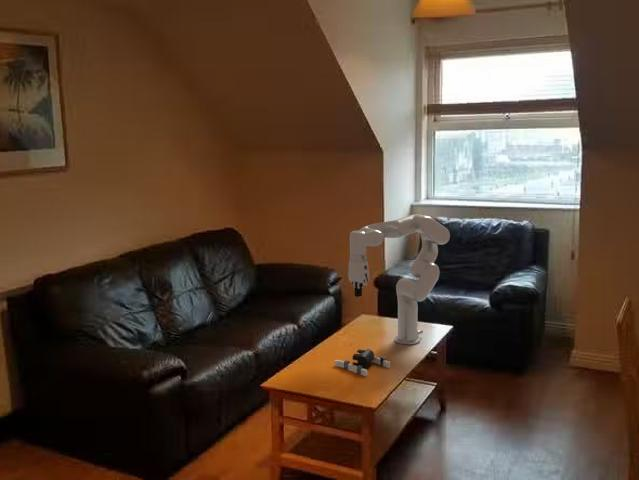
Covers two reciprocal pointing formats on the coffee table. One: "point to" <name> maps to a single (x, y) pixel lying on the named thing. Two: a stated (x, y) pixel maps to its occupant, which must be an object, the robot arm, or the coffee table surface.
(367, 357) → the end cap
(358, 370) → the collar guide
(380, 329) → the coffee table surface
